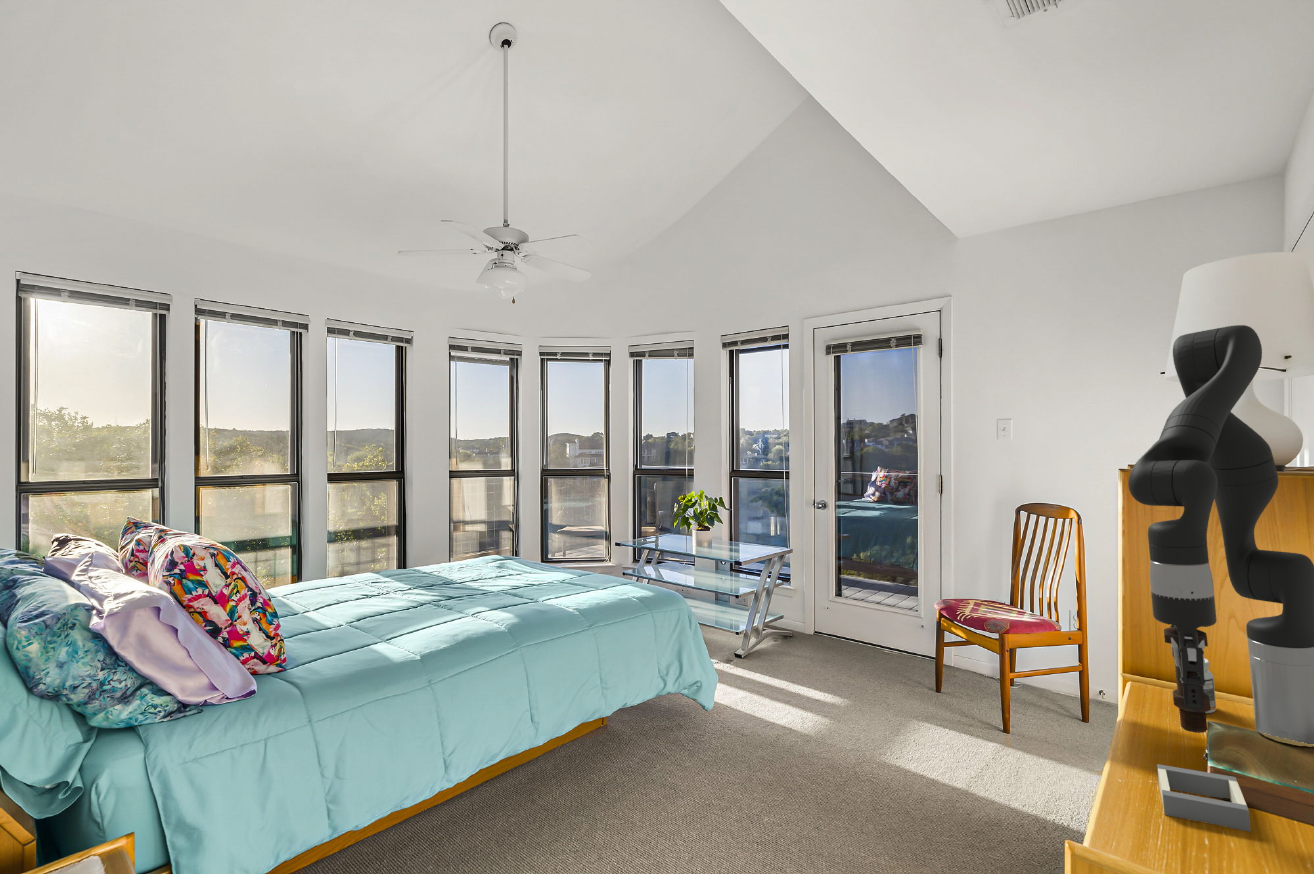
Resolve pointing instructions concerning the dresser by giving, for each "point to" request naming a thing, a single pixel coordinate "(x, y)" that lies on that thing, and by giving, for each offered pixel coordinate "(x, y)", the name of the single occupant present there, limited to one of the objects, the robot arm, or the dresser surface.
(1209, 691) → the pill bottle
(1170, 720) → the dresser surface
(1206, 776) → the grey white square frame
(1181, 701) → the bolt
